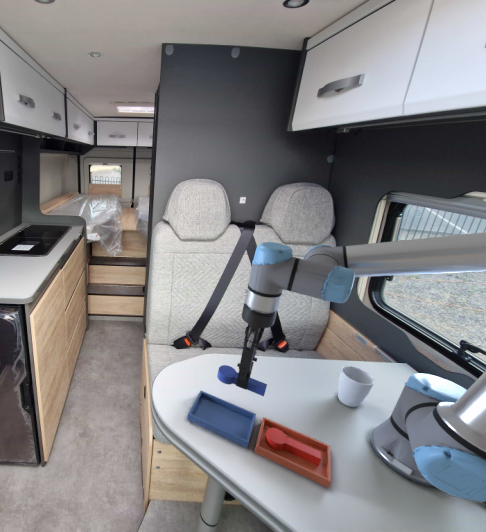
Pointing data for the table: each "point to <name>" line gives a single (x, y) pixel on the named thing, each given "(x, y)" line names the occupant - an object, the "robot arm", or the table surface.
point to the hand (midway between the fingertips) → (242, 383)
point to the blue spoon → (230, 377)
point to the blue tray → (222, 418)
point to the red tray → (292, 461)
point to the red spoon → (291, 446)
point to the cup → (354, 385)
